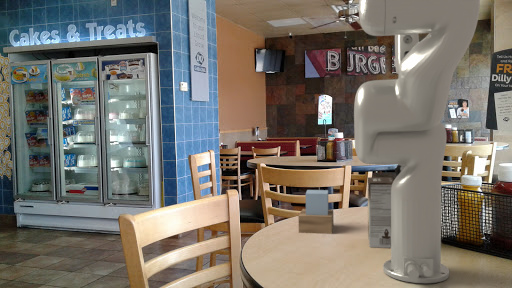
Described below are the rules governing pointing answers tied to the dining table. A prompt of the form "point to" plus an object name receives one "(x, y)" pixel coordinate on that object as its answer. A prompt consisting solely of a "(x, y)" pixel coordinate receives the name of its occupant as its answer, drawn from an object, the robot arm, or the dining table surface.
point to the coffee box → (379, 211)
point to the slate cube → (317, 202)
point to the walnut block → (316, 223)
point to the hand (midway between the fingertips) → (405, 97)
